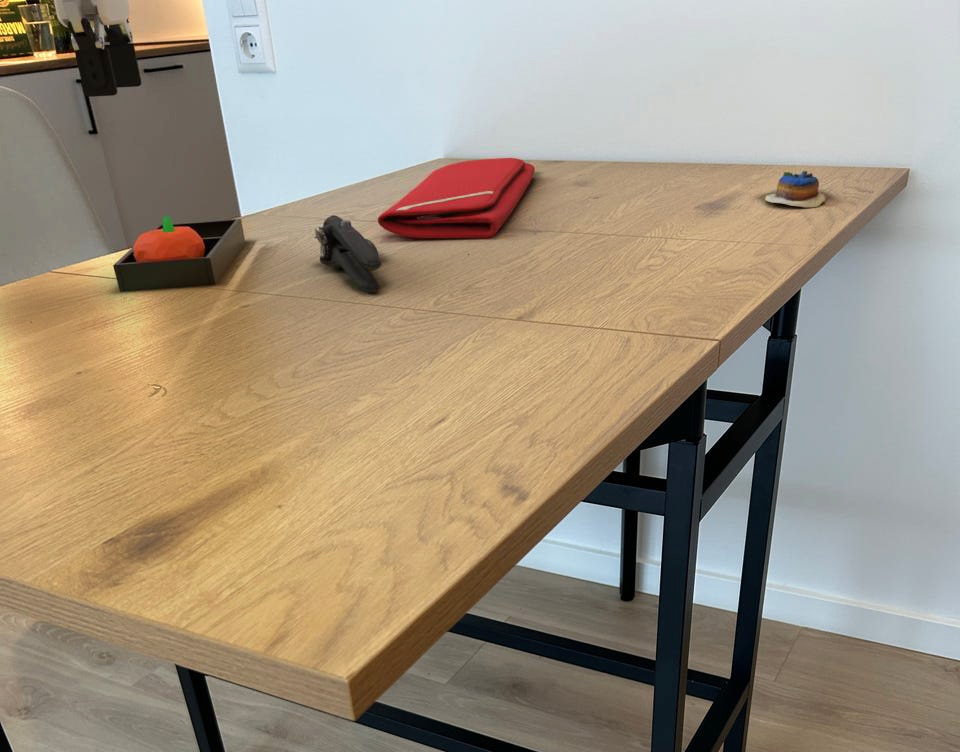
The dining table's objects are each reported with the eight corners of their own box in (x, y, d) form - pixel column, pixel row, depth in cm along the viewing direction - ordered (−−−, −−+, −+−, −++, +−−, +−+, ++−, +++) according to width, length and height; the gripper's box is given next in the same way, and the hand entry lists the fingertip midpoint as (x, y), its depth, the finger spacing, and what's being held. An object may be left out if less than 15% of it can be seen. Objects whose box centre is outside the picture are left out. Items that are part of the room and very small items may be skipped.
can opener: (313, 263, 119) (305, 213, 116) (370, 255, 120) (364, 206, 117) (341, 300, 104) (333, 244, 101) (405, 290, 106) (399, 234, 103)
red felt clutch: (537, 177, 157) (536, 150, 154) (499, 238, 123) (498, 206, 121) (439, 181, 159) (436, 155, 157) (376, 242, 126) (372, 211, 124)
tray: (121, 297, 111) (112, 265, 109) (163, 253, 129) (157, 224, 127) (216, 290, 111) (209, 257, 109) (246, 247, 129) (241, 218, 127)
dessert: (821, 203, 124) (798, 160, 123) (774, 234, 128) (751, 193, 128) (835, 196, 130) (813, 154, 129) (790, 225, 134) (768, 186, 134)
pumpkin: (138, 274, 117) (123, 215, 113) (207, 264, 119) (194, 206, 115) (142, 288, 111) (126, 227, 108) (214, 277, 113) (201, 217, 110)
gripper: (59, -106, 102) (102, 85, 111) (-3, -119, 88) (52, 101, 97) (133, -110, 102) (169, 82, 112) (83, -124, 88) (129, 97, 97)
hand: (114, 91), depth 104 cm, fingers open, 9 cm apart
